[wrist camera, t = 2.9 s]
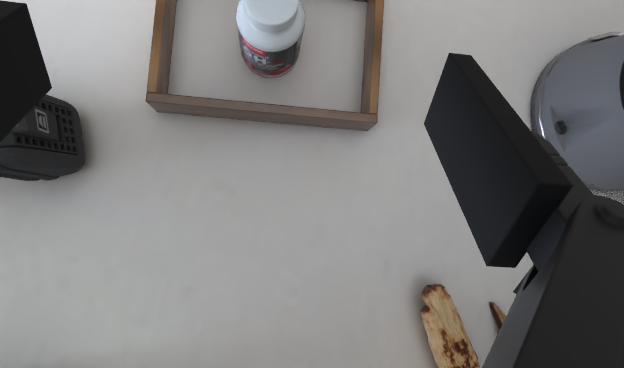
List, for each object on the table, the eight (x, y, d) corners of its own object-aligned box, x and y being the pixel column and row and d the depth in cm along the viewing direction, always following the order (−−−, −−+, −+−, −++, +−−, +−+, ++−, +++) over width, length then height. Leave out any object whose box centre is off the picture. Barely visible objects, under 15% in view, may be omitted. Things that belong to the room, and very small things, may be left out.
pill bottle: (240, 77, 39) (231, 31, 29) (242, 21, 39) (233, -42, 29) (298, 80, 39) (308, 36, 29) (299, 25, 40) (309, -36, 30)
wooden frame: (367, 131, 39) (377, 123, 36) (156, 111, 37) (145, 101, 34) (375, -5, 41) (385, -26, 37) (171, -31, 39) (161, -55, 35)
